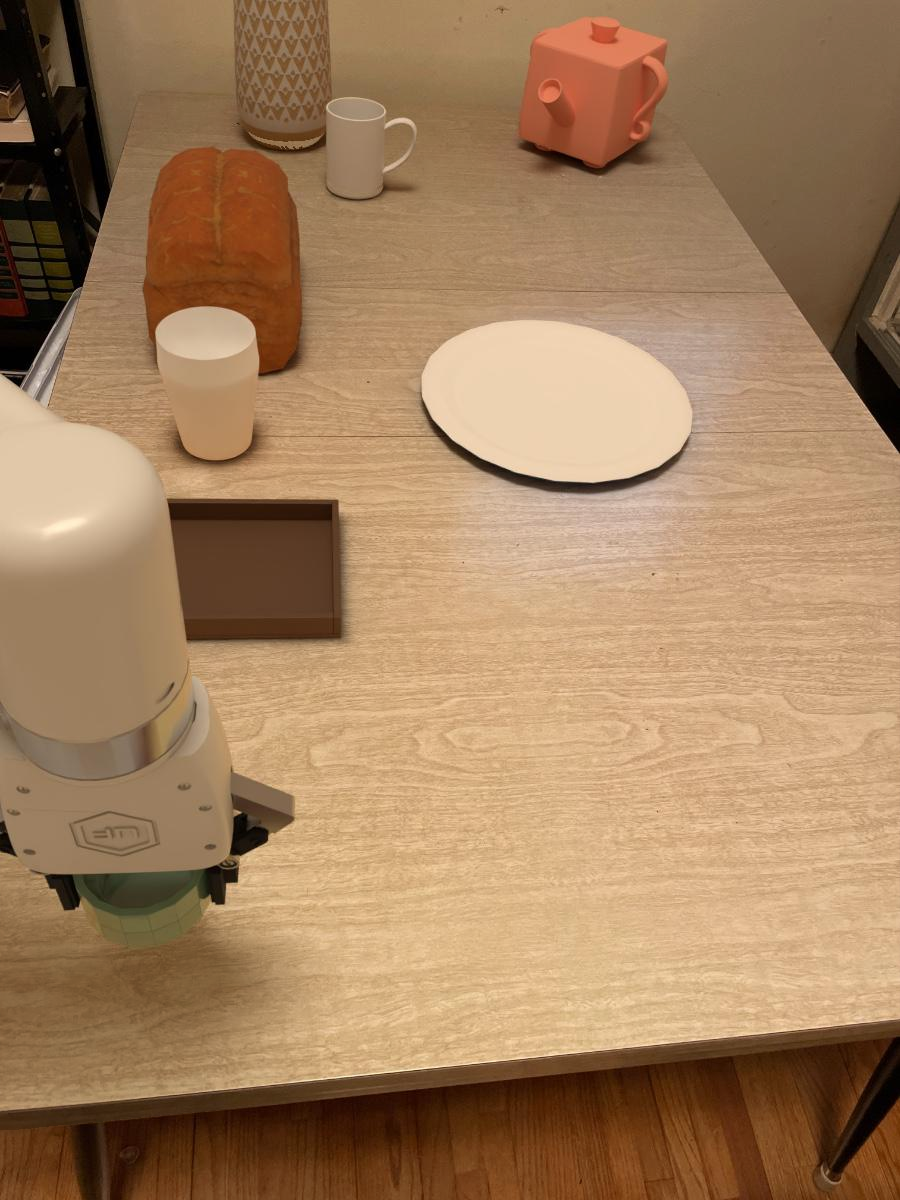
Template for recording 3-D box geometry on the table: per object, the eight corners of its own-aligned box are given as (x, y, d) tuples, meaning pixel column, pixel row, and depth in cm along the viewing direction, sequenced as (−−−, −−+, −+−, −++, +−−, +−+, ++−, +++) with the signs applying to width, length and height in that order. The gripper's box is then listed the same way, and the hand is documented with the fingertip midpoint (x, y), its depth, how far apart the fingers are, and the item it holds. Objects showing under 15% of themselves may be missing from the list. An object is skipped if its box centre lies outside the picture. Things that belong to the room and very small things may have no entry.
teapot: (600, 202, 138) (628, 68, 125) (468, 155, 146) (482, 23, 133) (670, 151, 154) (701, 27, 141) (548, 110, 161) (567, -12, 148)
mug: (323, 197, 132) (322, 116, 124) (329, 172, 137) (329, 94, 129) (411, 206, 132) (416, 127, 125) (414, 181, 138) (419, 104, 130)
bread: (298, 253, 121) (295, 121, 109) (305, 376, 103) (302, 235, 91) (165, 250, 118) (147, 115, 106) (148, 376, 100) (125, 230, 89)
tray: (122, 640, 76) (117, 619, 74) (144, 519, 86) (140, 497, 84) (340, 637, 78) (341, 617, 77) (338, 519, 88) (338, 499, 86)
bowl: (75, 954, 52) (60, 919, 48) (95, 835, 56) (82, 795, 53) (210, 948, 53) (204, 913, 49) (219, 832, 57) (214, 792, 54)
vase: (219, 133, 143) (198, -120, 120) (287, 111, 150) (279, -130, 128) (283, 165, 137) (274, -94, 115) (350, 141, 145) (354, -106, 123)
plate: (514, 303, 117) (516, 290, 116) (732, 400, 107) (737, 387, 106) (363, 409, 100) (363, 396, 98) (607, 536, 90) (611, 523, 88)
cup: (173, 412, 96) (158, 304, 88) (265, 412, 98) (258, 306, 89) (165, 469, 90) (148, 360, 82) (263, 469, 92) (256, 361, 83)
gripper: (-148, 773, 37) (-32, 956, 50) (307, 765, 40) (305, 941, 53) (-93, 625, 42) (0, 826, 55) (308, 627, 45) (306, 819, 58)
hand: (149, 881), depth 54 cm, fingers closed on bowl, 7 cm apart
